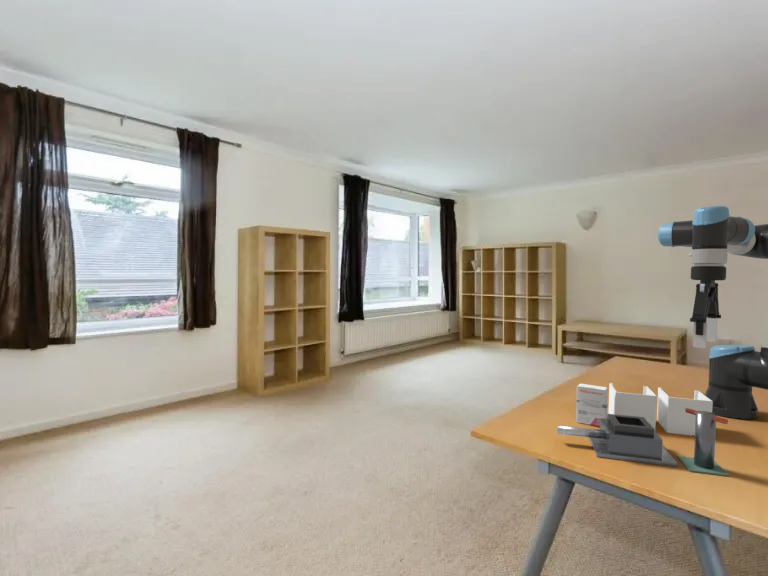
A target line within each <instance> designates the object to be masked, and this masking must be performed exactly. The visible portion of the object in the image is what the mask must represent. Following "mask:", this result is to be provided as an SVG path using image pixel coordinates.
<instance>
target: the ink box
mask: <svg viewBox="0 0 768 576" xmlns="http://www.w3.org/2000/svg"><path fill="white" fill-rule="evenodd" d="M575 396H576V399H575V400H576V402H575V422H576V423H579V424H585V425H588V426H595V427H599V428H600V418H602V419H607V415H608V413H609V388H608V387H606V386H599V385H593V384H586V383H579V384H578V385H577V386H576V395H575Z"/></svg>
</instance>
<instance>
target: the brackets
mask: <svg viewBox="0 0 768 576" xmlns="http://www.w3.org/2000/svg"><path fill="white" fill-rule="evenodd" d="M608 387H609V388H608V414H615V415H626V416H636V417H644V418H645V419H646V420H647V422H648V423H649V424H650V425H651V426H652V427H653V428H654V431H655V432H656V422H658V424H659V425H660V426H661V427H662V428H663V430H664V431H665V432H666V433H667V434H668V433H669V434H673V435H674V434H675V435H676V434H677V435H684V436H692V435H694V436H693V437H695V420H696V415H693V414H689V413H686V412H685V409H686V408H689V409H693V410H696V411H707V412H711V413H712V406H713V401H712V400H710V399H709V398H708V397H706V396H705V394H703V393H702V392H701V391H700V390H694V394H693V398H687V397H686V398H684V397H673V396H669V395H668V394H667V393H666V392H665V391H664V390H663V387H661V386H660V387H657V394H656V393H654V392H653V391H652V389H651V388H649V386H647V385H646V386H645V385H643V387H642V388H643V389H642V394H641V393H633V392H632V393H631V392H621V391H620V392H619V391H617V390H616V388H615V386H614V383H613V382H610V383H609V386H608Z"/></svg>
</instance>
